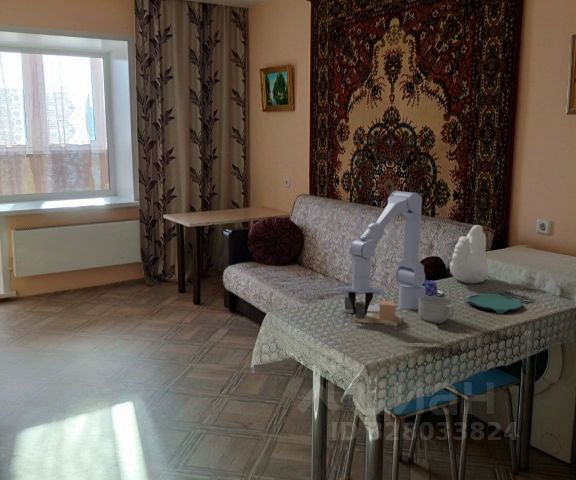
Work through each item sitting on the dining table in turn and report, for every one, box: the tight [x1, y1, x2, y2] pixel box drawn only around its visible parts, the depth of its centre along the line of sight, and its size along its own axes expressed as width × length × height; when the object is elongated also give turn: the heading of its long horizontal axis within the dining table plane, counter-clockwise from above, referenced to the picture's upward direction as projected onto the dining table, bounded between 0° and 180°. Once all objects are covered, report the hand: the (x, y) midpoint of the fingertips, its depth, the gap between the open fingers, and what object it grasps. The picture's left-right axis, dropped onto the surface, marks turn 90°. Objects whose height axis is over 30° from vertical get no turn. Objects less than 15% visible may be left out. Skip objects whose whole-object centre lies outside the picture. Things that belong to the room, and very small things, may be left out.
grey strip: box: [342, 293, 379, 314], centre depth 208 cm, size 16×7×5 cm, turn 84°
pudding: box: [422, 279, 444, 297], centre depth 235 cm, size 12×12×5 cm
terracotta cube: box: [378, 300, 396, 320], centre depth 197 cm, size 5×5×5 cm
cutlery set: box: [465, 290, 539, 315], centre depth 222 cm, size 20×30×2 cm, turn 127°
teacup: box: [417, 295, 455, 325], centre depth 198 cm, size 14×11×8 cm
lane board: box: [343, 313, 398, 326], centre depth 203 cm, size 18×20×1 cm
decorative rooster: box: [449, 224, 489, 284], centre depth 251 cm, size 25×16×25 cm, turn 126°
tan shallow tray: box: [353, 301, 403, 325], centre depth 197 cm, size 16×7×5 cm, turn 84°
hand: (359, 313), depth 198 cm, fingers closed on tan shallow tray, 3 cm apart
